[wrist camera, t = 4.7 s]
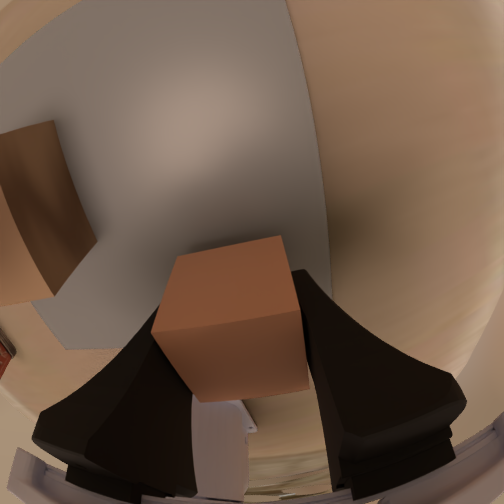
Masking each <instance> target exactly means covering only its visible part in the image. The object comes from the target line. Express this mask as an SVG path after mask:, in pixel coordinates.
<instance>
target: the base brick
mask: <svg viewBox="0 0 504 504" xmlns="http://www.w3.org/2000/svg"><path fill="white" fill-rule="evenodd" d="M97 242H98V241H97V239H96V237H95V235H94V233H93V230H92V228H91V226H90V224H89V221H88V219H87V217H86V214H85V212H84V209H83V207H82V204H81V202H80V199H79V197H78V194H77V192H76V189H75V186H74V184H73V181H72V178H71V175H70V172H69V170H68V167H67V164H66V161H65V158H64V154H63V151H62V148H61V145H60V141H59V138H58V134H57V131H56V127H55V123H54V120H50V121H46V122H42V123H38V124H34V125H30V126H26V127H23V128H19V129H16V130H12V131H9V132H6V133H3V134H0V307H1V306H6V305H12V304H18V303H23V302H29V301H34V300H40V299H45V298H51V297H55V295H56V294H57V293H58V291H59V290H60V288H61V287H62V286H63V284H64V283H65V282H66V280H67V279H68V278H69V276H70V275H71V274H72V273H73V271H74V270H75V269H76V267H77V266H78V265H79V264H80V262H81V261H82V260H83V259H84V257H85V256H86V255H87V254H88V253H89V251H90V250H91V249H92V248H93V247H94V245H95V244H96V243H97Z"/></svg>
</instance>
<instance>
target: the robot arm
mask: <svg viewBox="0 0 504 504" xmlns="http://www.w3.org/2000/svg"><path fill="white" fill-rule="evenodd" d="M291 275H292V279H293V283H294V287H295V291H296V295H297V299H298V303H299V307H300V311H301V319H302V327H303V335H304V343H305V351H306V359H307V362H308V366H309V369H310V372H311V375H312V378H313V382H314V385H315V389H316V394H317V399H318V404H319V409H320V415H321V420H322V426H323V432H324V438H325V444H326V450H327V456H328V463H329V470H330V477H331V485H332V491H333V492H332V493H328V494H323V495H318V496H312V497H306V498H300V499H292V500H284V501H274V502H261V503H244V493H245V492H246V490H247V488H248V485H249V458H248V433H254V432H257V431H258V430H257V426H256V424H255V423H254V421H253V419H252V418H251V416H250V414H249V412H248V411H247V409H246V407H245V405H244V404H243V402H242V400H232V401H220V402H205V403H200V402H199V401H198V399H197V398H196V397H195V395H194V394H193V393H192V392H191V390H190V389H189V388H188V386H187V385H186V384H185V382H184V381H183V379H182V378H181V377H180V375H179V374H178V373H177V371H176V370H175V368H174V367H173V365H172V364H171V363H170V361H169V360H168V358H167V357H166V355H165V354H164V352H163V351H162V349H161V348H160V346H159V345H158V343H157V342H156V340H155V339H154V337H153V335H152V334H151V330H152V327H153V324H154V321H155V318H156V315H157V312H158V309H159V306H160V304H159V306H158V307H157V308H156V309H155V311H154V312H153V313H152V314H151V316H150V317H149V318H148V319H147V321H146V322H145V323H144V324H143V326H142V327H141V328H140V329H139V331H138V332H137V333H136V334H135V335H134V336H133V338H132V339H131V340H130V341H129V342H128V343H127V345H126V346H125V347H124V348H123V349H122V350H121V351H120V352H119V353H118V355H117V356H116V357H115V358H114V359H113V360H112V361H111V362H110V363H109V364H107V365H106V366H105V367H104V368H103V369H102V370H101V371H100V372H99V373H97V374H96V375H95V376H94V377H93V378H92V379H90V380H89V381H88V382H87V383H86V384H84V385H83V386H82V387H80V388H79V389H78V390H76V391H75V392H73V393H72V394H71V395H69V396H68V397H66V398H65V399H63V400H61V401H60V402H58V403H56V404H54V405H53V406H51V407H49V408H47V409H46V410H44V411H42V412H41V413H40V415H39V418H38V421H37V423H36V427H35V429H34V432H33V435H32V440H33V442H34V443H35V444H36V445H37V446H39V447H40V448H41V449H43V450H44V451H46V452H47V453H49V454H51V455H52V456H54V457H55V458H57V459H59V460H61V461H62V462H64V463H66V464H68V468H67V472H65V471H63V470H60V469H58V468H55V467H53V466H51V465H48V464H46V463H45V462H44V461H42V460H41V459H39V458H38V457H36V456H34V455H32V454H30V453H29V452H26V451H25V450H23V449H21V448H17V451H16V454H15V457H14V461H13V465H12V468H11V472H10V476H9V480H8V485H7V489H8V491H10V492H11V493H12V494H13V495H15V496H16V497H17V498H19V499H20V500H21V501H22V502H24V503H25V504H365V503H368V502H371V501H375V500H378V499H380V500H379V501H378V504H491V503H492V502H493V501H495V500H496V499H497V498H498V497H499V496H500V495H501V494H502V493H503V492H504V412H503V413H501V414H500V415H499V416H498V417H497V418H496V419H495V420H494V422H493V423H491V424H490V425H488V426H487V427H486V428H484V429H483V430H481V431H479V432H478V433H476V434H475V435H473V436H472V437H470V438H468V439H467V440H465V441H463V442H462V443H460V444H458V445H456V446H455V447H452V444H451V441H450V439H449V438H451V437H452V431H451V428H450V424H451V423H452V422H453V421H454V420H455V419H456V418H457V417H458V416H459V415H460V414H461V413H462V411H463V410H464V408H465V406H466V403H467V400H466V398H465V396H464V394H463V392H462V390H461V388H460V386H459V385H458V383H457V381H456V380H455V379H454V377H453V376H452V374H451V373H448V372H446V371H443V370H440V369H438V368H435V367H433V366H430V365H428V364H425V363H423V362H420V361H418V360H416V359H414V358H412V357H410V356H408V355H406V354H405V353H403V352H401V351H399V350H398V349H396V348H394V347H392V346H391V345H389V344H387V343H386V342H384V341H382V340H381V339H379V338H378V337H376V336H375V335H374V334H372V333H371V332H369V331H368V330H367V329H365V328H364V327H362V326H361V325H360V324H359V323H357V322H356V321H355V320H354V319H352V318H351V317H350V316H349V315H348V314H347V313H346V312H344V311H343V310H342V309H341V308H340V307H339V306H338V305H337V304H336V303H335V302H334V301H333V300H332V299H331V298H330V297H329V296H328V295H327V294H326V293H325V292H324V291H323V290H322V289H321V288H320V287H319V285H318V284H317V283H316V282H315V281H314V279H313V278H312V277H311V276H310V274H309V273H308V271H307V270H305V269H300V270H295V271H291ZM381 498H382V499H381Z"/></svg>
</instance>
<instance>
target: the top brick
mask: <svg viewBox="0 0 504 504" xmlns="http://www.w3.org/2000/svg"><path fill="white" fill-rule="evenodd" d="M151 334H152V335H153V337H154V339H155V340H156V342H157V343H158V345H159V346H160V348H161V349H162V351H163V352H164V354H165V355H166V357H167V358H168V360H169V361H170V363H171V364H172V365H173V367H174V368H175V370H176V371H177V373H178V374H179V375H180V377H181V378H182V379H183V381H184V382H185V384H186V385H187V386H188V388H189V389H190V390H191V392H192V393H193V394H194V395H195V397H196V398H197V399H198V401H199V402H200V403H205V402H220V401H232V400H242V399H251V398H259V397H266V396H273V395H280V394H286V393H291V392H297V391H302V390H307V389H310V387H309V378H308V369H307V360H306V351H305V343H304V335H303V327H302V319H301V311H300V307H299V303H298V299H297V295H296V291H295V287H294V283H293V279H292V275H291V271H290V267H289V264H288V260H287V256H286V252H285V249H284V245H283V241H282V238H281V235H279V236H274V237H269V238H264V239H259V240H254V241H249V242H244V243H239V244H234V245H229V246H224V247H220V248H215V249H210V250H205V251H200V252H196V253H191V254H186V255H181V256H177V259H176V261H175V264H174V267H173V269H172V272H171V275H170V277H169V280H168V283H167V286H166V289H165V291H164V294H163V297H162V300H161V303H160V306H159V309H158V312H157V315H156V318H155V321H154V324H153V327H152V330H151Z"/></svg>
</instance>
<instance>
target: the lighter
mask: <svg viewBox="0 0 504 504" xmlns="http://www.w3.org/2000/svg"><path fill="white" fill-rule="evenodd" d="M15 354H16V349H15V348H14V346H13V345H12V343H11V342H10V341H9V339H8V338H7V337H6V335H5V334H4V333H3V331H2V330H1V329H0V379H1V377H2V375H3V373H4V371H5V369H6V367H7V365H8V364H9V362H10V360H11V359H13V358H14V356H15Z"/></svg>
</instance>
